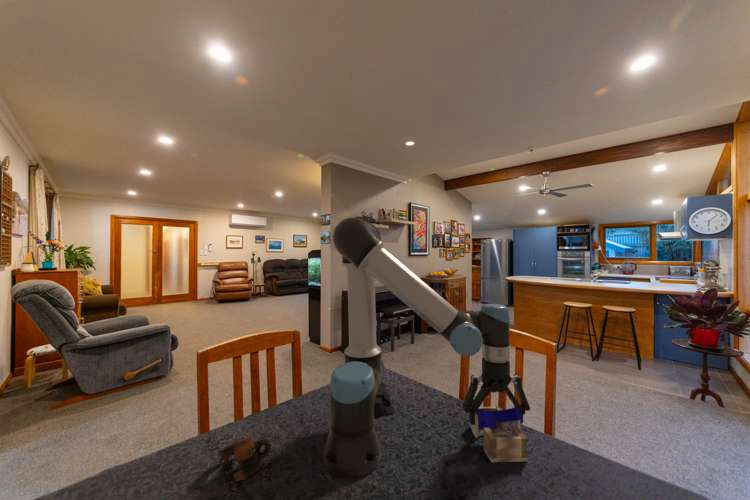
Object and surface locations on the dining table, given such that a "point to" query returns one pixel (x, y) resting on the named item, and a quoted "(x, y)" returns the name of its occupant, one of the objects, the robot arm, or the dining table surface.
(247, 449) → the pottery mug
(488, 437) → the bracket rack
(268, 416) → the dining table surface
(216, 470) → the dining table surface
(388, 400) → the dark slate chunk
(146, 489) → the dining table surface
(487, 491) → the dining table surface
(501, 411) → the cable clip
